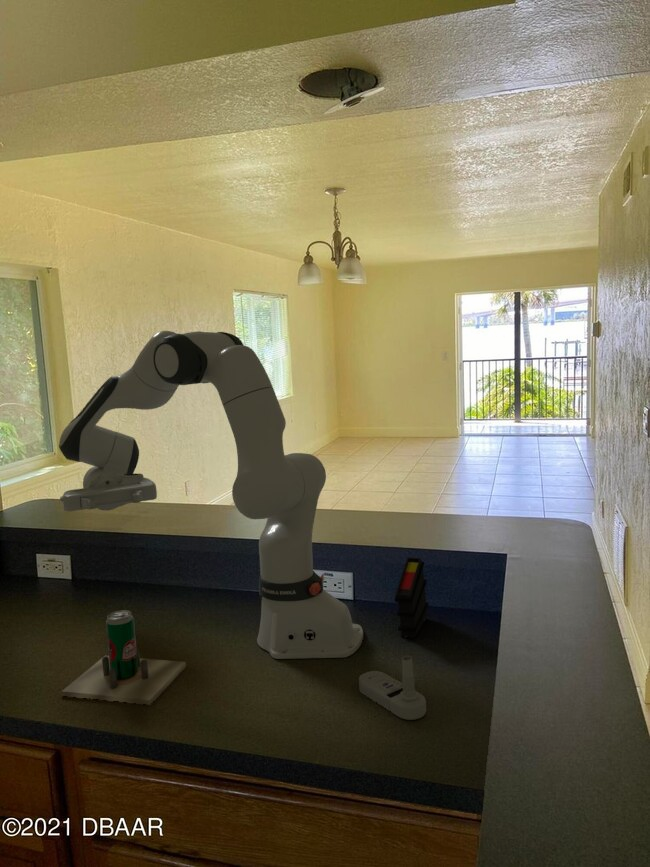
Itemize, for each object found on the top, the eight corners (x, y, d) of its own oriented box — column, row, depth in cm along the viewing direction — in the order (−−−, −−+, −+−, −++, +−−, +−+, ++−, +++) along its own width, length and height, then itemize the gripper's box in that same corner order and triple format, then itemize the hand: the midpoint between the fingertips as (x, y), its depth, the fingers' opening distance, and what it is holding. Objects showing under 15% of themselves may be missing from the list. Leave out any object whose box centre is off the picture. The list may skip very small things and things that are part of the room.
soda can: (129, 682, 121) (123, 620, 119) (105, 680, 122) (99, 619, 120) (143, 669, 125) (138, 610, 124) (121, 667, 127) (115, 608, 125)
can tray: (186, 666, 128) (184, 644, 128) (150, 705, 115) (148, 680, 114) (105, 660, 133) (103, 638, 132) (62, 696, 119) (59, 672, 119)
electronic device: (373, 630, 119) (430, 658, 107) (377, 681, 120) (433, 714, 108) (350, 639, 116) (405, 668, 104) (353, 691, 117) (408, 726, 105)
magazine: (431, 605, 148) (423, 557, 140) (419, 653, 137) (409, 603, 130) (415, 604, 149) (406, 556, 141) (402, 650, 139) (391, 601, 131)
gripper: (57, 483, 149) (62, 494, 136) (148, 472, 157) (160, 481, 145) (60, 510, 150) (65, 523, 137) (150, 497, 158) (162, 509, 146)
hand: (114, 502), depth 141 cm, fingers open, 8 cm apart
